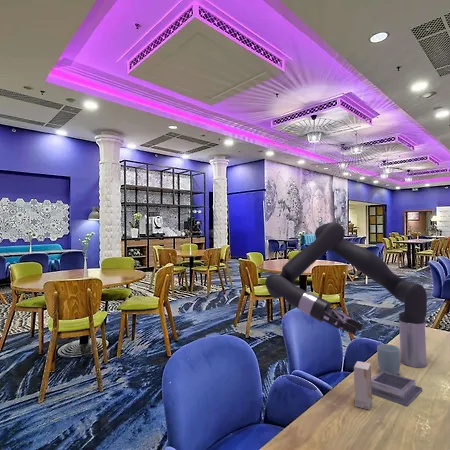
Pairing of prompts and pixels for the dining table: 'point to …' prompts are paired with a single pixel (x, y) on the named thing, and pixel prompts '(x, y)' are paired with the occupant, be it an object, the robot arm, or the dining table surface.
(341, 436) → the dining table surface
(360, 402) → the skincare box
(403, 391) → the tray
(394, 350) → the cup
